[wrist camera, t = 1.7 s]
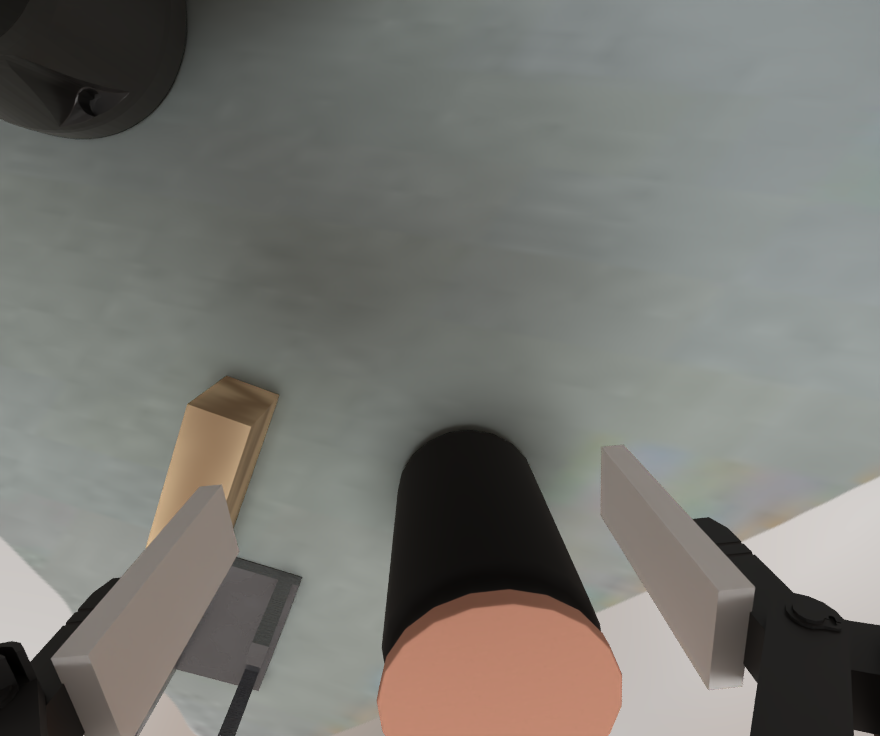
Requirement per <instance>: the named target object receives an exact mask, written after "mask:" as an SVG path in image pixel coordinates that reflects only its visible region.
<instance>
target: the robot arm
mask: <svg viewBox="0 0 880 736" xmlns="http://www.w3.org/2000/svg"><path fill="white" fill-rule="evenodd" d="M186 27H187V14H186V1H185V0H0V119H2V120H4V121H6V122H9V123H12V124H14V125H17V126H20V127H24V128H27V129H31V130H35V131H38V132H42V133H46V134H50V135H54V136H59V137H64V138H73V139H92V138H100V137H105V136H109V135H113V134H116V133H119V132H121V131H124V130H126V129H128V128H130V127H132V126H134V125H135V124H137V123H138V122H140V121H141V120H143V119H144V118H145V117H147V116H148V115H149V114H150V113H151V112H152V111H153V110H154V109H155V108H156V107H157V106H158V105H159V103H160V102H161V101H162V100H163V98H164V97H165V95H166V94H167V92H168V91H169V89H170V87H171V85H172V84H173V82H174V80H175V77H176V75H177V73H178V70H179V67H180V64H181V60H182V56H183V52H184V47H185V40H186ZM601 517H602V518H603V520H604V522H605V523H606V525H607V527H608V528H609V530H610V531H611V533H612V535H613V536H614V538H615V540H616V541H617V543H618V544H619V546H620V548H621V549H622V551H623V552H624V554H625V556H626V557H627V559H628V561H629V562H630V564H631V565H632V567H633V569H634V570H635V572H636V574H637V575H638V577H639V578H640V580H641V582H642V583H643V585H644V587H645V588H646V590H647V591H648V593H649V595H650V596H651V598H652V599H653V601H654V603H655V604H656V606H657V608H658V609H659V611H660V612H661V614H662V616H663V617H664V619H665V621H666V622H667V624H668V625H669V627H670V628H671V630H672V632H673V634H674V635H675V637H676V638H677V640H678V641H679V643H680V645H681V646H682V648H683V649H684V651H685V653H686V655H687V656H688V658H689V659H690V661H691V663H692V664H693V666H694V668H695V669H696V671H697V672H698V674H699V676H700V677H701V679H702V681H703V682H704V684H705V685H706V687H707V689H708V690H715V689H725V688H735V687H742V684H743V676H744V668H745V667H746V668H747V669H748V671H749V672H750V674H751V675H752V676H753V678H754V679H755V680H756V682H757V683H758V684H757V691H756V698H755V705H754V712H753V718H752V725H751V732H750V736H854V730H858V731H862V732H867V733H871V734H874V736H880V625H874V624H867V623H860V622H854V621H848V620H844V619H843V618H842V617H841V616H840V615H839V614H838V613H837V612H836V611H835V610H833V609H832V608H830V607H829V606H827V605H826V604H824V603H823V602H820V601H818V600H816V599H814V598H811V597H809V596H805V595H800V594H796V593H793V592H792V591H791V590H790V589H789V588H788V587H787V586H786V585H785V584H784V583H783V582H782V581H781V580H780V579H779V578H778V577H777V576H776V575H775V574H774V573H773V572H772V571H771V570H770V569H769V568H768V567H767V566H766V565H765V564H764V563H763V562H762V561H761V560H760V559H759V558H757V556H755V555H753V554H752V552H751V550H749V549H748V548H747V547H746V546H745V545H744V544H742V543H741V541H740V540H739V539H738V538H737V537H736V536H735V535H734V534H733V533H732V532H731V531H730V530H729V529H728V528H727V527H725V526H723V525H721V524H720V523H718V522H716V521H714V520H713V519H711V518H709V517H707V518H697V519H692V518H691V517H690V516H689V515H688V514H687V513H686V512H685V511H684V510H683V509H682V507H681V506H680V505H679V504H678V503H677V502H676V501H675V500H674V499H673V498H672V497H671V496H670V494H669V493H668V492H667V491H666V490H665V489H664V488H663V487H662V486H661V485H660V484H659V483H658V481H657V480H656V479H655V478H654V477H653V476H652V475H651V474H650V473H649V472H648V471H647V470H646V468H645V467H644V466H643V465H642V464H641V463H640V462H639V461H638V460H637V459H636V458H635V457H634V455H633V454H632V453H631V452H630V451H629V450H628V449H627V448H626V447H625V446H624V445H614V446H604V447H601ZM238 553H239V548H238V544H237V541H236V537H235V533H234V529H233V525H232V521H231V517H230V514H229V510H228V506H227V502H226V498H225V494H224V491H223V487H222V484H221V485H211V486H201V487H199V488H198V489H197V490H196V491H195V493H194V494H193V495H192V496H191V497H190V498H189V499H188V501H187V502H186V503H185V504H184V505H183V506H182V508H181V509H180V510H179V511H178V512H177V513H176V514H175V516H174V517H173V518H172V519H171V520H170V521H169V523H168V524H167V525H166V526H165V527H164V528H163V530H162V531H161V532H160V533H159V534H158V535H157V536H156V538H155V539H154V540H153V541H152V542H151V543H150V545H149V546H148V547H147V548H146V549H145V550H144V551H143V553H142V554H141V555H140V556H139V557H138V558H137V560H136V561H135V562H134V563H133V564H132V565H131V566H130V568H129V569H128V570H127V571H126V572H125V573H124V575H123V576H122V577H121V578H113V579H111V580H110V581H109V582H107V583H106V584H104V585H103V586H102V587H100V588H99V589H98V590H96V591H95V592H94V593H92V594H91V596H90V597H89V598H88V599H87V600H86V601H85V602H84V603H83V604H82V605H81V607H80V608H79V609H78V612H75V613H74V614H73V615H72V617H71V618H70V619H69V620H68V621H67V622H66V625H65V626H62V628H61V629H60V630H59V631H58V632H57V633H56V634H55V635H54V637H53V638H52V639H51V640H50V641H49V642H48V643H47V644H46V645H45V646H44V647H43V649H42V650H41V651H40V652H39V653H38V654H37V655H36V656H35V657H34V658H33V660H32V661H31V662H30V661H29V660H28V657H27V655H26V652H25V650H24V648H23V646H22V645H21V643H18V642H12V641H11V642H6V643H0V736H83V735H84V736H135V734H136V732H137V731H138V729H139V727H140V725H141V724H142V722H143V720H144V718H145V717H146V715H147V713H148V711H149V710H150V708H151V706H152V704H153V703H154V701H155V699H156V697H157V695H158V694H159V692H160V690H161V688H162V687H163V685H164V683H165V681H166V680H167V678H168V676H169V674H170V673H171V671H172V669H173V667H174V666H175V664H176V662H177V660H178V659H179V657H180V655H181V653H182V652H183V650H184V648H185V646H186V645H187V643H188V641H189V639H190V637H191V636H192V634H193V632H194V630H195V629H196V627H197V625H198V623H199V622H200V620H201V618H202V616H203V615H204V613H205V611H206V609H207V608H208V606H209V604H210V602H211V601H212V599H213V597H214V595H215V594H216V592H217V590H218V588H219V586H220V585H221V583H222V581H223V579H224V578H225V576H226V574H227V572H228V571H229V569H230V567H231V565H232V564H233V562H234V560H235V558H236V557H237V555H238Z"/></svg>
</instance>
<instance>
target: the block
mask: <svg viewBox="0 0 880 736" xmlns="http://www.w3.org/2000/svg"><path fill="white" fill-rule="evenodd" d="M278 398H279V395H278V394H275V393H272V392H269V391H267V390H264V389H261V388H259V387H256V386H253V385H250V384H248V383H245V382H242V381H239V380H237V379H234V378H231V377H229V376H226V377H224V378H223V379H221V380H220V381H219V382H217V383H216V384H214V385H213V386H212V387H210V388H209V389H208V390H206V391H205V392H203V393H202V394H201V395H199V396H198V397H196V398H195V399H194V400H192V401H191V402H190V403H188V404H187V407H186V411H185V414H184V418H183V421H182V424H181V428H180V431H179V435H178V438H177V442H176V445H175V449H174V452H173V456H172V459H171V462H170V466H169V469H168V473H167V476H166V480H165V483H164V487H163V490H162V493H161V497H160V500H159V504H158V507H157V511H156V514H155V518H154V521H153V525H152V528H151V531H150V535H149V538H148V542H147V545H146V548H147V547H148V546H149V545H150V543H151V542H152V541H153V540H154V539H155V538H156V536H157V535H158V534H159V533H160V532H161V531H162V530H163V528H164V527H165V526H166V525H167V524H168V523H169V521H170V520H171V519H172V518H173V517H174V516H175V514H176V513H177V512H178V511H179V510H180V509H181V508H182V506H183V505H184V504H185V503H186V502H187V501H188V499H189V498H190V497H191V496H192V495H193V494H194V493H195V491H196V490H197V489H198V488H199V487H201V486H211V485H221V484H222V487H223V491H224V494H225V498H226V502H227V506H228V510H229V514H230V517H231V521H232V525H233V528H234V526H235V523H236V520H237V517H238V514H239V511H240V508H241V505H242V502H243V499H244V497H245V494H246V491H247V488H248V485H249V482H250V479H251V476H252V473H253V470H254V468H255V465H256V462H257V459H258V456H259V453H260V450H261V447H262V444H263V441H264V438H265V436H266V433H267V430H268V427H269V424H270V421H271V418H272V415H273V412H274V409H275V407H276V404H277V401H278Z"/></svg>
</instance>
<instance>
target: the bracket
mask: <svg viewBox="0 0 880 736" xmlns="http://www.w3.org/2000/svg"><path fill="white" fill-rule="evenodd" d="M301 579H302V577H299V576H296V575H293V574H289V573H286V572H283V571H279V570H276V569H273V568H269V567H266V566H263V565H259V564H256V563H253V562H249V561H246V560H243V559H239V558H235V560H234V562H233V564H232V565H231V567H230V569H229V571H228V572H227V574H226V576H225V578H224V579H223V581H222V583H221V585H220V586H219V588H218V590H217V592H216V594H215V595H214V597H213V599H212V601H211V602H210V604H209V606H208V608H207V609H206V611H205V613H204V615H203V616H202V618H201V620H200V622H199V623H198V625H197V627H196V629H195V630H194V632H193V634H192V636H191V637H190V639H189V641H188V643H187V645H186V646H185V648H184V650H183V652H182V653H181V655H180V657H179V659H178V660H177V662H176V664H175V666H174V667H173V669H172V671H171V673H170V674H169V676H168V678H167V680H166V681H165V683H164V685H163V687H162V688H161V690H160V692H159V694H158V695H157V697H156V699H155V701H154V703H153V704H152V706H151V708H150V710H149V711H148V713H147V715H146V717H145V718H144V720H143V722H142V724H141V725H140V727H139V729H138V731H137V732H136V734H135V736H139V734H140V733H141V731H142V729H143V727H144V726H145V724H146V722H147V720H148V718H149V717H150V715H151V713H152V712H153V710H154V708H155V706H156V704H157V703H158V701H159V699H160V697H161V696H162V694H163V692H164V690H165V689H166V687H167V685H168V683H169V682H170V680H171V678H172V676H173V675H174V673H175V671H176V669H178V670H181V671H185V672H189V673H193V674H197V675H200V676H204V677H208V678H212V679H215V680H219V681H223V682H227V683H231V684H234V685H238V688H237V690H236V693H235V695H234V698H233V700H232V702H231V705H230V707H229V710H228V712H227V715H226V717H225V719H224V722H223V724H222V727H221V729H220V732H219V734H218V736H235V734H236V732H237V729H238V726H239V724H240V721H241V718H242V716H243V713H244V710H245V708H246V705H247V702H248V700H249V697H250V694H251V692H252V689H253V690H257V691H259V688H260V686H261V683H262V680H263V678H264V675H265V673H266V670H267V667H268V665H269V662H270V660H271V657H272V654H273V652H274V649H275V647H276V644H277V641H278V639H279V636H280V634H281V631H282V629H283V626H284V623H285V621H286V618H287V616H288V613H289V610H290V608H291V605H292V603H293V600H294V597H295V595H296V592H297V590H298V587H299V584H300V582H301Z"/></svg>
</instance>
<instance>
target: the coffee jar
mask: <svg viewBox="0 0 880 736" xmlns="http://www.w3.org/2000/svg"><path fill="white" fill-rule="evenodd" d="M382 652H383V658H384V663H385V665H384V669H383V673H382V677H381V682H380V686H379V691H378V697H377V704H378V710H379V715H380V720H381V726H382V730H383V733H384V734H385V736H608V735H609V734H610V732H611V729H612V727H613V724H614V722H615V720H616V717H617V715H618V713H619V710H620V708H621V704H622V674H621V671H620V669H619V666H618V664H617V662H616V659H615V657H614V655H613V652H612V650H611V648H610V646H609V644H608V642H607V640H606V639H605V637H604V635H603V633H602V632H601V628H600V623H599V621H598V619H597V617H596V614H595V612H594V609H593V607H592V605H591V602H590V600H589V598H588V595H587V593H586V591H585V589H584V587H583V584H582V582H581V580H580V578H579V575H578V573H577V571H576V569H575V566H574V564H573V562H572V560H571V558H570V555H569V553H568V551H567V549H566V546H565V544H564V542H563V540H562V537H561V535H560V533H559V531H558V528H557V526H556V524H555V522H554V520H553V517H552V515H551V513H550V511H549V508H548V506H547V504H546V502H545V499H544V497H543V495H542V493H541V491H540V488H539V486H538V484H537V482H536V479H535V477H534V475H533V473H532V470H531V468H530V466H529V464H528V462H527V459H526V458H525V457H524V456H523V455H522V454H521V453H520V452H519V451H518V450H517V449H516V448H515V446H514V445H513V444H511V443H509V442H507V441H505V440H503V439H502V438H500V437H498V436H496V435H494V434H490V433H484V432H479V431H474V430H467V431H458V432H450V433H447V434H445V435H442V436H440V437H438V438H435V439H433V440H430V441H429V442H428V443H427V444H425V445H424V446H423V447H422V448H421V449H419V450H418V451H417V452H416V453H415V454H413V455H412V457H411V459H410V460H409V462H408V464H407V465H406V467H405V468H404V470H403V472H402V475H401V479H400V484H399V489H398V495H397V505H396V515H395V524H394V534H393V544H392V553H391V563H390V573H389V583H388V592H387V602H386V612H385V622H384V631H383V641H382Z"/></svg>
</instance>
